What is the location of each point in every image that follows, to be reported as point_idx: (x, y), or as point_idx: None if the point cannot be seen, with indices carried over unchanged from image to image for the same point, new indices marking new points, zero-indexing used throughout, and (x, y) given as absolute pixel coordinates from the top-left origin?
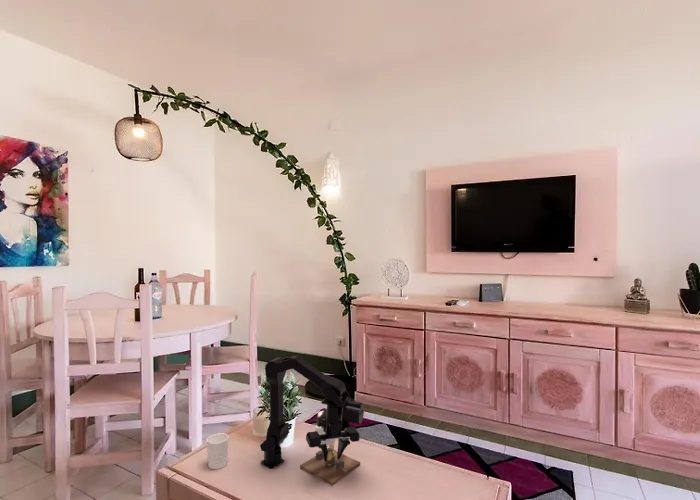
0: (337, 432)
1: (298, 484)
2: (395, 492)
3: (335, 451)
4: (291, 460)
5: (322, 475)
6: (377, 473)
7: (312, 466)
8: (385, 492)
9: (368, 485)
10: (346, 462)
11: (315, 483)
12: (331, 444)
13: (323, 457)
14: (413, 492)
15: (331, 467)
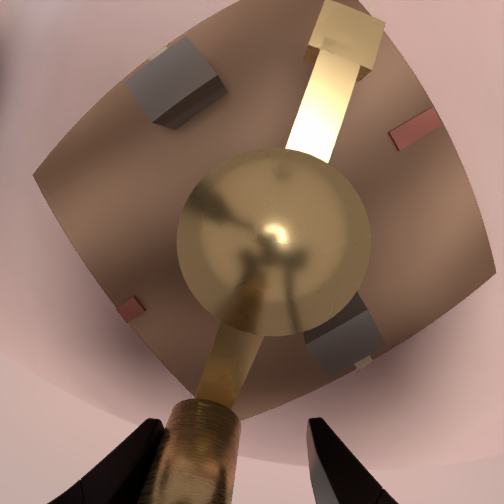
0: None
1: (50, 330)
2: (456, 457)
3: (355, 266)
4: (27, 69)
5: (170, 353)
6: (498, 358)
7: (105, 212)
8: (431, 460)
9: (409, 432)
10: (420, 244)
11: (132, 361)
12: (350, 18)
13: (131, 436)
14: (490, 451)
15: None
